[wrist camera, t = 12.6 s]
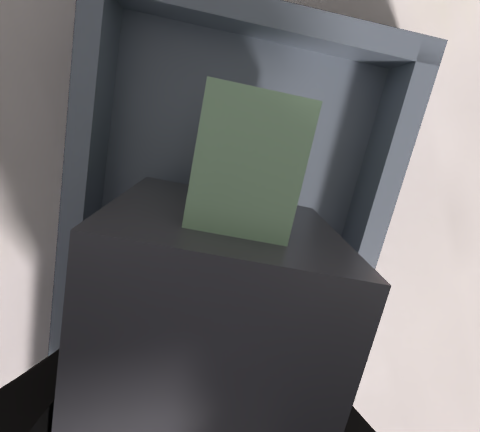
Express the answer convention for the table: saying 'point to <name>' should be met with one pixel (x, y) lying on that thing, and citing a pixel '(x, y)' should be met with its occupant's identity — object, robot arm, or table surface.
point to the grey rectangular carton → (218, 290)
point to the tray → (250, 73)
